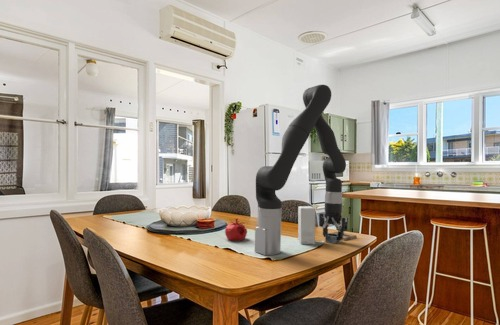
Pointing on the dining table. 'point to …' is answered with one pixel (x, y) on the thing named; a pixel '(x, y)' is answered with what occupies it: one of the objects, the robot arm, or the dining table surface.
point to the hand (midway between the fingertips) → (332, 238)
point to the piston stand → (347, 236)
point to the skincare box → (306, 224)
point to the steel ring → (331, 238)
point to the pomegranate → (235, 231)
